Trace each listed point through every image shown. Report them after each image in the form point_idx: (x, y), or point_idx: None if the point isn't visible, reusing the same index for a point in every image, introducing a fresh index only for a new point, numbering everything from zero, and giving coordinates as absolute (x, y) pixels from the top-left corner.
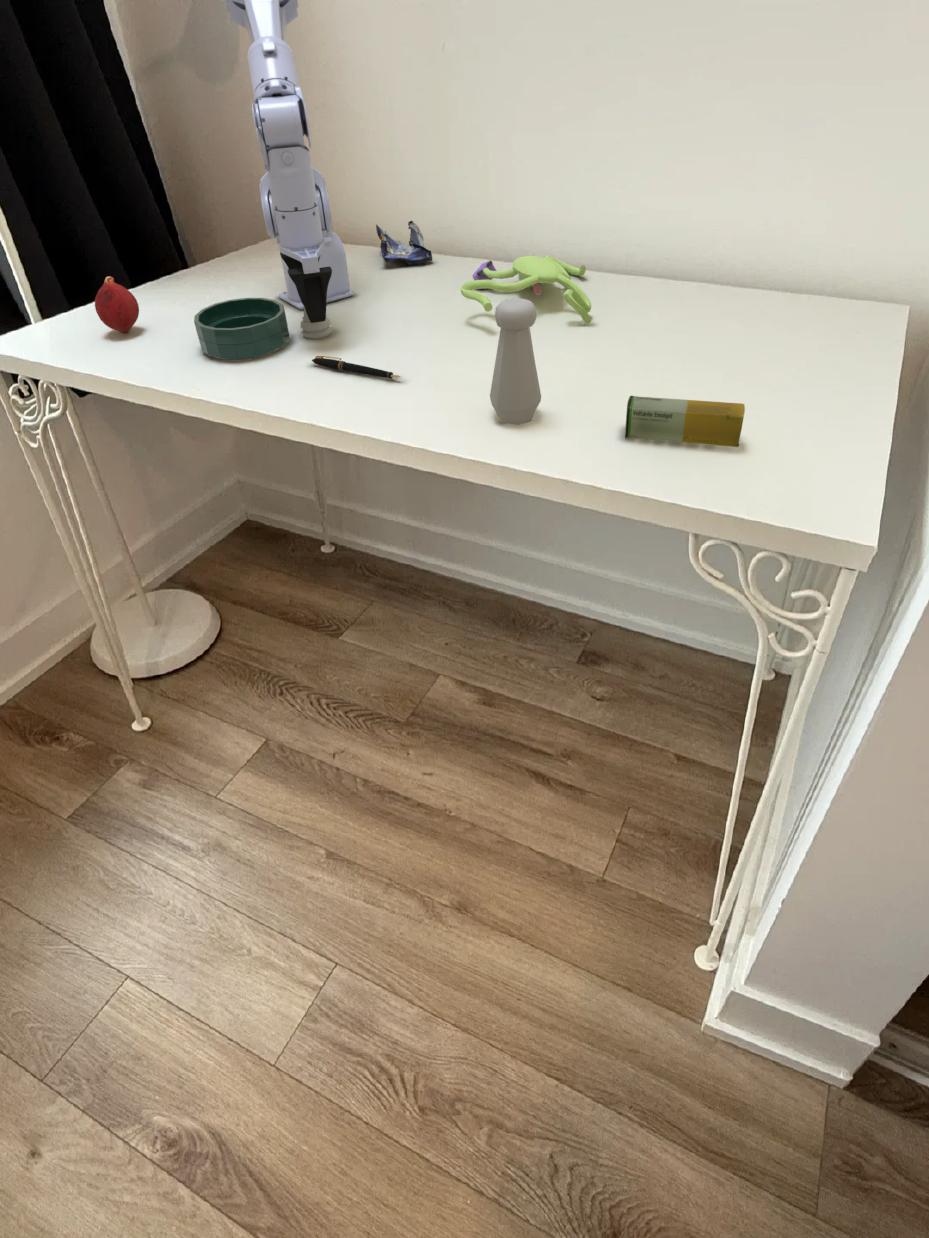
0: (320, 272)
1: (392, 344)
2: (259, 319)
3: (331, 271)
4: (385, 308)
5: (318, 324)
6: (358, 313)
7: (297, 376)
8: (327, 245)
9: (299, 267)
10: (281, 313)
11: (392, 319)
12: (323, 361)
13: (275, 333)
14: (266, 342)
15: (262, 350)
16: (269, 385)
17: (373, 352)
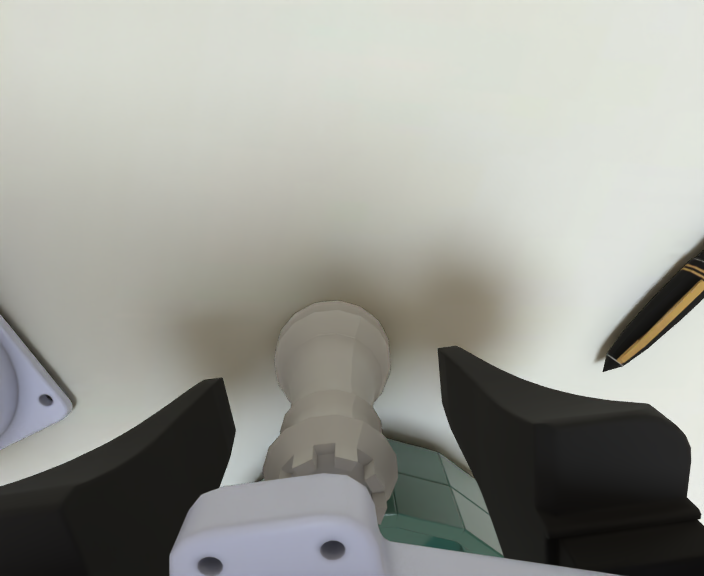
0: (681, 495)
1: (524, 66)
2: None
3: (655, 414)
4: (83, 55)
5: (381, 360)
6: (133, 188)
7: (656, 403)
8: (381, 534)
9: (165, 557)
10: (428, 522)
11: (236, 34)
12: (659, 337)
13: (472, 504)
14: None
15: None
16: None
17: (573, 153)
